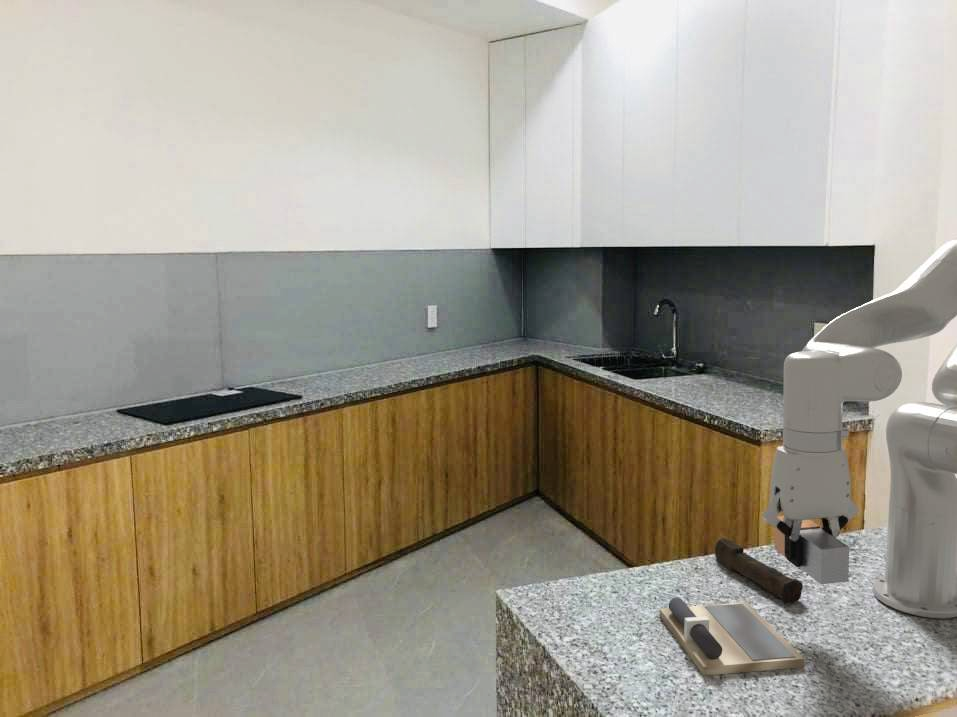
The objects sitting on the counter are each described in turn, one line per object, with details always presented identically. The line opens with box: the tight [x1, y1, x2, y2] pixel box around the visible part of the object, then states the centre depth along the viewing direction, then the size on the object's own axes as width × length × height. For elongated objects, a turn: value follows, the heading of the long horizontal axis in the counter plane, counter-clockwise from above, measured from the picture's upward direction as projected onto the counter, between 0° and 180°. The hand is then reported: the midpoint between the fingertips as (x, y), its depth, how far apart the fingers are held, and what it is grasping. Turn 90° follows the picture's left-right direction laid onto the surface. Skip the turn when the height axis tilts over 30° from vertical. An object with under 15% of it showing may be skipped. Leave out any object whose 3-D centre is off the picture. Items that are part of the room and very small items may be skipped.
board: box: [659, 602, 806, 676], centre depth 102 cm, size 14×16×1 cm
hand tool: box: [714, 537, 804, 605], centre depth 121 cm, size 19×4×5 cm, turn 17°
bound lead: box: [668, 596, 722, 660], centre depth 101 cm, size 3×13×3 cm, turn 6°
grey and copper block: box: [774, 515, 850, 585], centre depth 103 cm, size 4×12×5 cm, turn 6°
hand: (809, 560), depth 103 cm, fingers closed on grey and copper block, 4 cm apart
